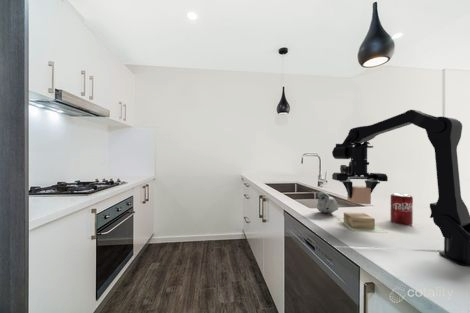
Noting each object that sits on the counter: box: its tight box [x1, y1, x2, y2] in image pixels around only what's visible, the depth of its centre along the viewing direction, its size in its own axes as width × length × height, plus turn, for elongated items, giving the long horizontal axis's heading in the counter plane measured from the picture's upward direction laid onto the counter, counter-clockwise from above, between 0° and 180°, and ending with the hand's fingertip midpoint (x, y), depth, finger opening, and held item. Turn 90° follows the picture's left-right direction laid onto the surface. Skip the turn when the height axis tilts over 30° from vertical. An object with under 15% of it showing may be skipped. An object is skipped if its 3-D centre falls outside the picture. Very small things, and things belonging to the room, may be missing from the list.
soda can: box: [389, 193, 414, 227], centre depth 87 cm, size 7×7×12 cm
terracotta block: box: [346, 185, 372, 205], centre depth 83 cm, size 6×6×6 cm
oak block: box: [343, 211, 376, 229], centre depth 83 cm, size 8×8×4 cm
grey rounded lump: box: [316, 190, 339, 215], centre depth 98 cm, size 10×10×12 cm
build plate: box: [336, 217, 388, 233], centre depth 84 cm, size 16×12×1 cm
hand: (358, 198), depth 83 cm, fingers closed on terracotta block, 6 cm apart
